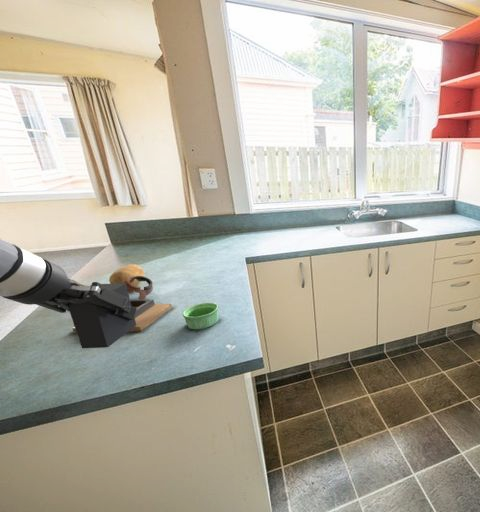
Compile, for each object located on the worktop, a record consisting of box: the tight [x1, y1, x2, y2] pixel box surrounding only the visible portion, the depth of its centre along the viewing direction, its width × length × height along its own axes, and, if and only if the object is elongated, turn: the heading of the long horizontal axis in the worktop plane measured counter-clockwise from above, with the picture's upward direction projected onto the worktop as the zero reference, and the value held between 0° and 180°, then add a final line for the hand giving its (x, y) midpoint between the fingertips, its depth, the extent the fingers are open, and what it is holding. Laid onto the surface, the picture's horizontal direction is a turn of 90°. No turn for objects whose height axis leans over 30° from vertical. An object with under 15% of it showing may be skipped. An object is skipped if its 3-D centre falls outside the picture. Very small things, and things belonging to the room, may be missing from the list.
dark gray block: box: [68, 283, 136, 349], centre depth 65 cm, size 5×9×11 cm, turn 6°
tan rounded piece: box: [108, 263, 146, 286], centre depth 111 cm, size 10×14×8 cm
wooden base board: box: [71, 298, 173, 334], centre depth 89 cm, size 18×14×4 cm
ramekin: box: [182, 302, 220, 330], centre depth 87 cm, size 9×9×4 cm
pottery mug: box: [122, 276, 154, 300], centre depth 102 cm, size 12×10×8 cm
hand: (119, 314), depth 69 cm, fingers closed on dark gray block, 5 cm apart
